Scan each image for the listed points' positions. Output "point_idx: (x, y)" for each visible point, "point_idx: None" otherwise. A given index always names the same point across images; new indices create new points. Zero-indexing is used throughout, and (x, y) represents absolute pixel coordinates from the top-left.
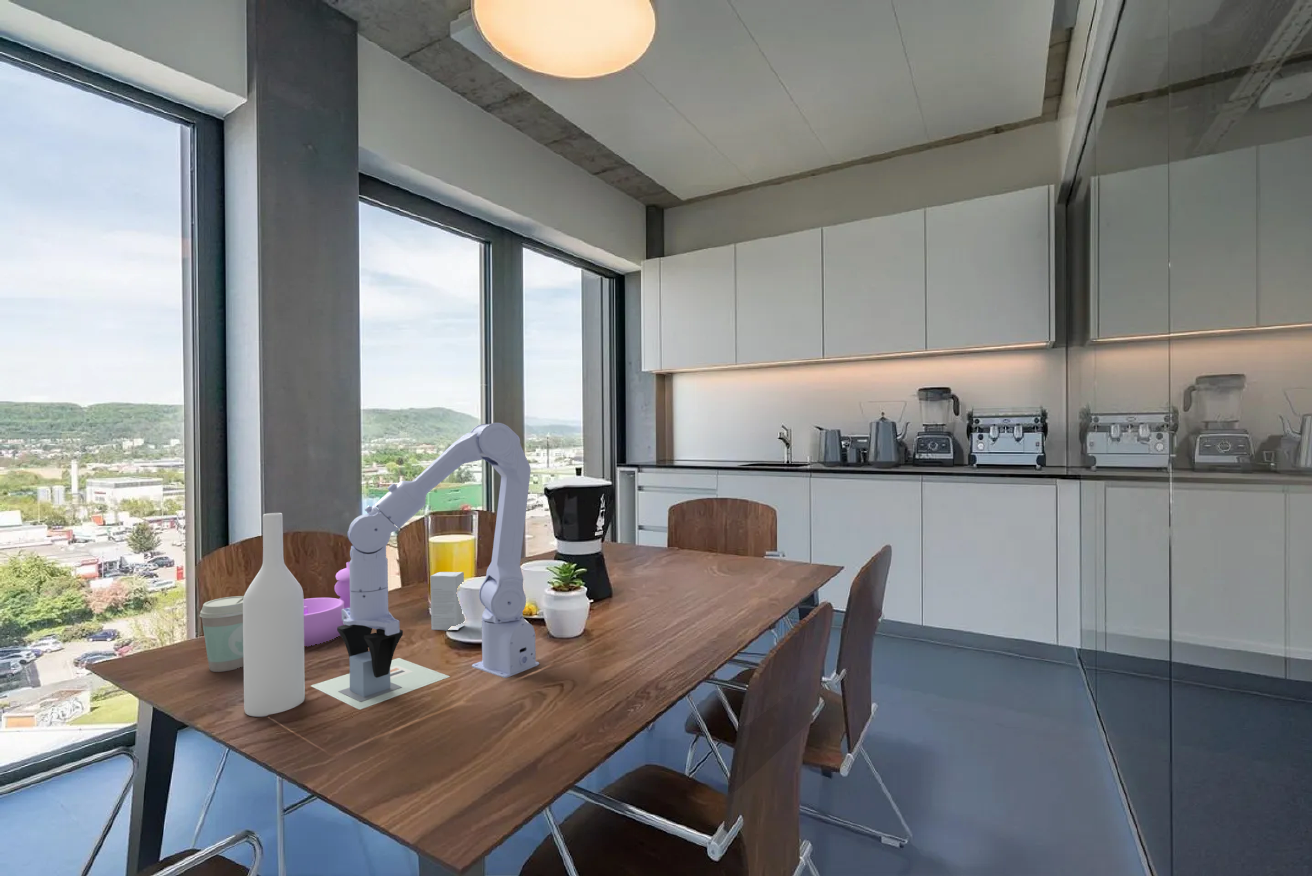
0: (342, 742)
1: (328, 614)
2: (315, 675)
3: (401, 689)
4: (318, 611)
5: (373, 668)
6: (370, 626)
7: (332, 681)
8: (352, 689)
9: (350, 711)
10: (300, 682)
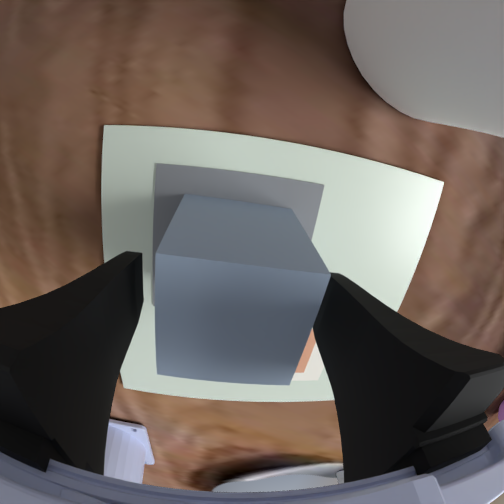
0: (7, 20)
1: None
2: (476, 247)
3: None
4: None
5: (117, 263)
6: (201, 499)
7: (409, 234)
8: (272, 208)
9: (138, 109)
10: (392, 47)
